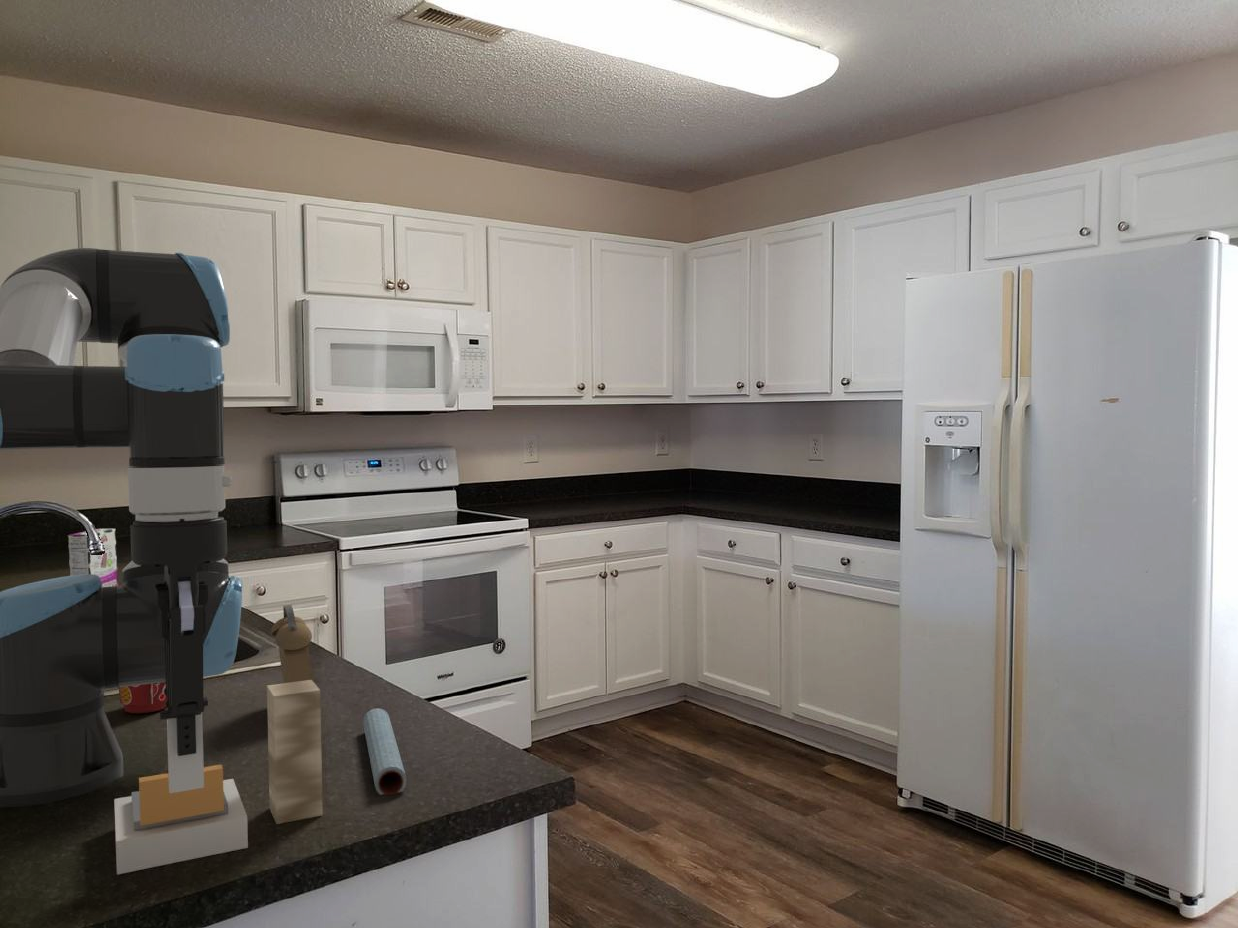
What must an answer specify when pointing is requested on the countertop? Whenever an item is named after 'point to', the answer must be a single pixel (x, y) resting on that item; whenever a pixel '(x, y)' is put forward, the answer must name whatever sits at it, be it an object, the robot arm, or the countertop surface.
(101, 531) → the candy bar box
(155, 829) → the socket
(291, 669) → the alarm clock
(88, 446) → the robot arm
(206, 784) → the shutter
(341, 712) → the countertop surface
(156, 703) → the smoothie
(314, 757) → the peg
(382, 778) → the aluminum foil
